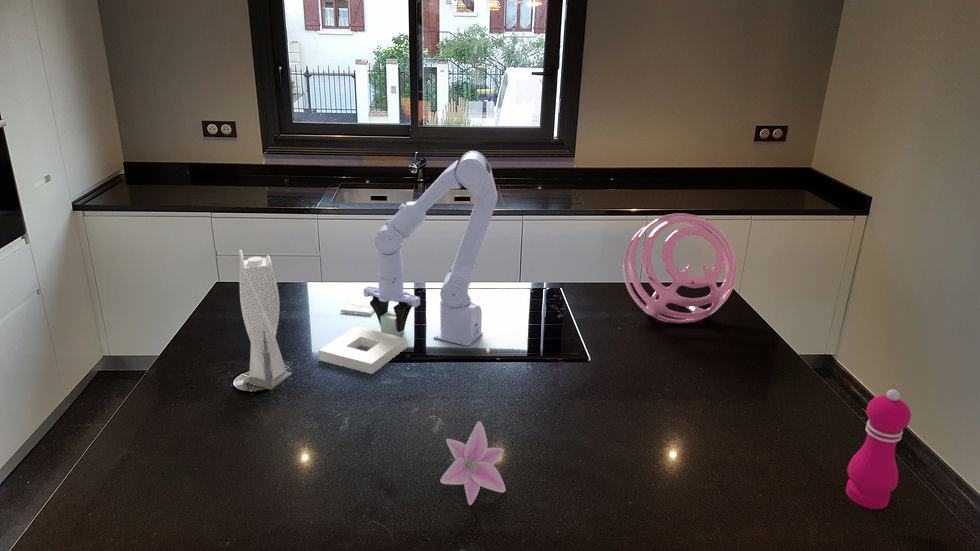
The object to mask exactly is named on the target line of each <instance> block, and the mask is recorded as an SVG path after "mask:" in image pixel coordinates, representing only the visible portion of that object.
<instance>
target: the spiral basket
mask: <svg viewBox="0 0 980 551" xmlns="http://www.w3.org/2000/svg"><path fill="white" fill-rule="evenodd" d="M678 223H679V224H685V225H687V226H686V227H685V226H684V227H681V228H679V229H677V230H675V231H673V232H672V233H671V234H670V235H668V236H667V238H666V239H665V241H664V243H663V246H662V251H661V260H662V265H663V267H664V270H665V272H666V273H667V275H668V276H669V277H670V278H671V279H672V283H671V284H670V286H665V285H663V284H662V282H661V281H660V279H659V277H658V276H657V275H656V273H655V271H654V268H653V264H652V250H653V247H654V243H655V241H656V240H657V238H658V236H659V235H660V234H661V233H662V232H663V231H664V230H665V229H667V228H668V227H670V226H672V225H675V224H678ZM655 226H656V227H655ZM652 227H654V229H652V231H651V232H650V233H649V234H648V235H647V237H646V239H645V242H644V244H643V248H642V253H641V260H642V261H641V262H642V269H643V272H644V276H645V278H646V280H647V281H648V283H649V285H650V286H651V287H652V289H653V290H654V293H653V294H652V296H650V295H649V294H648V293H647V291H646V290H645V289H644V288H643V286H642V284H641V281H640V279H639V278H638V277H639V276H638V274H637V267H636V254H637V250H638V245H639V243H640V241H641V239H642V237H643V236H644V234H645V233H647V231H648V230H649V229H650V228H652ZM687 236H697V237H701V238H704V239H705V240H707V242H709V243H710V245H711V246H712V247H713V249H714V251H715V257H716V260H715V265H714V266H713V268H712V270H710V269H708V268H707V267H706V265H705V264H702V269H703V272H704V275H703V276H699V277H695V276H694V277H693V276H690V275H688V271H689V269H690V267H691V265H690V264H688V265H687V266H686V267H685V268H684V269H683V270H680V269H679V268H678V267H677V265H676V263H675V260H674V257H673V256H674V255H673V254H674V249H675V246H676V244H677V243H678V241H680V240H681V239H682V238H684V237H687ZM622 264H623V265H622V272H623V273H622V274H623V280H624V284H625V285H626V288H627V291H628V293H629V295H630V297H631V298H632V299H633V300H634V302H635V303H636V305H637V306H638V307H639V308H640V309H642V311H644V313H645V314H647V315H648V316H650V317H653V318H655V319H657V320H660V321H662V322H666V323H669V324H670V323H673V324H690V323H694V322H697V321H700V320H703V319H706V318H707V317H709V316H711V315H712V314H713V315H714V313H715V312H716V311H717V310H718V309H719V308H721V306H723V304H724V303H725V302H726V301H727V300H728V298H730V295H731V293H732V291H733V289H734V288H735V284H736V280H737V275H738V274H737V273H738V265H737V257H736V254H735V251H734V249H733V247H732V244H731V242H730V241H729V239H728V237H727V236H726V235H725V234H724V232H723V231H721V229H720V228H718V227H717V226H716V225H715V224H714V223H712V222H711V221H708V220H707V219H705V218H703V217H701V216H699V215H695V214H689V213H682V212H681V213H679V212H678V213H671V214H669V213H668V214H665V215H662V216H660V217H657V218H655V219H653V220H651V221H650V222H649V223H647V224H646V225H645V226H643V227H641V228H640V229H639V230H638V231H637V232H636V233H635V235H633V236H632V238H631V239H630V242H628V245H627V247H626V250H625V252H624V257H623V262H622ZM724 266H725V279H724V281H723V283H722V284H721V285H720V286H719V287H718V285H717V280H718V278H719V277H720V276H721V274H722V272H723V270H724ZM628 270H629V272H628ZM628 273H629V275H630V279H629V275H628ZM630 280H631V282H632V285H633V287H634V289H635V290H636V292H637V294H638V295H639V296H640V297H641V299H642V300H643V301H644V303H646V304H644V303H643V302H642V301H641V300H640V299H639V298H638V296H637V295H636V293H635V292H634V290H633V287H632V285H631V283H630ZM681 286H684V287H687V288H692V289H700V288H705V287H709V288H710V293H709V294H708V295H705V296H701V297H693V298H692V297H684V296H681V295H679V294H678V293H677V290H678V289H679V288H680V287H681ZM657 296H658V298H657ZM656 298H657V299H656ZM668 304H675V305H678V306H681V307H684V308H686V309H687V310H688V311H689V312H681V311H680V312H679V311H674V310H672V309H669V308H668V307H667V305H668ZM709 304H711V306H709V307H708V308H706V309H704V308H700V307H701V306H705V305H706V306H707V305H709ZM663 315H664V316H663ZM665 316H667V317H665ZM669 317H671V318H669Z"/></svg>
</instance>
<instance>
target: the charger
mask: <svg viewBox="0 0 980 551" xmlns="http://www.w3.org/2000/svg"><path fill="white" fill-rule="evenodd" d="M380 319H381V326H380V332H383V333H387V334H391V335H395V336H399V335H400V336H401V335H403V334H404V333H405V329H404V330H402V331H401V332H398V330H397V319H396V314H395V311H394V310H390V309H388V312H386V313H385V314H383V315H382V316H380ZM403 332H404V333H403ZM400 336H399V337H400Z"/></svg>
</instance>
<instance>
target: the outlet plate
mask: <svg viewBox="0 0 980 551" xmlns="http://www.w3.org/2000/svg"><path fill="white" fill-rule="evenodd" d="M406 349H408V348H407V337H403V336H395V335H391V334H387V333H383V332H381V331H378V330H375V329H369V328H366V327H361V326H357V325H356V326H354V327H353V328H351V329H349V330H348V331H346V332H345V333H343V334H341V335H340V336H338V337H337V338H335V339H334V340H332V341H331V342H329V343H327V344H326V345H325V346H324V345H323V347H321V348H320V349H318V360H319V361H321V362H325V363H329V364H333V365H336V366H339V367H343V366H344V367H343V368H347V369H351V370H354V369H355V370H354V371H358V370H359V371H360V372H362V373H365V372H366V373H365V374H370V375H373V374H374V373H375V372H377V371H378V370H380V369H381V368H382V367H384V366H385V365H386V364H387V363H389V362H390V361H392V358H393V359H394V358H395V357H397V356H398V355H399V354H401V353H402V352H403V351H404V350H406ZM400 352H401V353H400ZM396 355H397V356H396ZM359 371H358V372H359Z"/></svg>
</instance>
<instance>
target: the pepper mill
mask: <svg viewBox="0 0 980 551" xmlns="http://www.w3.org/2000/svg"><path fill="white" fill-rule="evenodd" d="M900 397H901V394H900V392H899V391H898V390H897V389H894V388H893V389H889V390H888V391H887V392H886V395H877V396H876V397H873V398H872V399H871V400H870V401H869V402H868V404H867V406H866V410H865V411H866V412H865V413H866V416H867V418H868V420H867V422H866V425H865V432H866V433H867V434H866V439H865V440H864V442H863V445H862V446H861V447H860V449H859V450H857V452H856V453H855V454H854V455H853V456H852V457H851V459H850V461H849V463H848V466H847V469H846V470H847V475H848V478H849V479H848V480H847V484H846V488H845V493H846V495H847V497H848V498H849V499H850V500H851V501H852V502H854V503H856V504H857V505H859V506H861V507H864V508H866V509H870V510H871V509H873V510H880V509H884V508H886V507H887V506H888V505H889V502H890V500H891V499H890V498H891V492H893V491H894V490H895V489H896V488H897V486H898V482H899V469H898V464H897V462H896V454H895V453H896V452H895V451H896V445H897V443H898V442H899V441H901V440H902V435H903V434H904V431H903V430H904V429H905V428H907V427H908V426H909V425H910V421H911V419H912V418H911V416H912V413H911V410H910V407H909V406H908V405H907V403H905V401H903V400H902V399H900Z"/></svg>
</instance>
